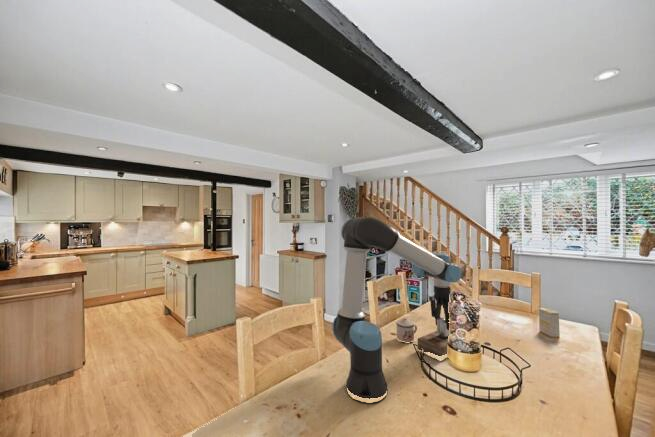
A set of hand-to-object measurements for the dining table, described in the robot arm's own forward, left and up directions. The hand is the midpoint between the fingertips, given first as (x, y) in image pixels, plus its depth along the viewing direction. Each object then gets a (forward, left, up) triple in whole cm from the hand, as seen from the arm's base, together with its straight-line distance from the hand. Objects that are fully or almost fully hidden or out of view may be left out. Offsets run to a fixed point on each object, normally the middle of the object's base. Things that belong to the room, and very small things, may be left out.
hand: (443, 333), depth 128 cm
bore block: (-4, 0, -7) cm, 8 cm away
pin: (0, 0, -5) cm, 5 cm away
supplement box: (+61, -23, -8) cm, 66 cm away
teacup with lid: (-6, +17, -8) cm, 19 cm away
